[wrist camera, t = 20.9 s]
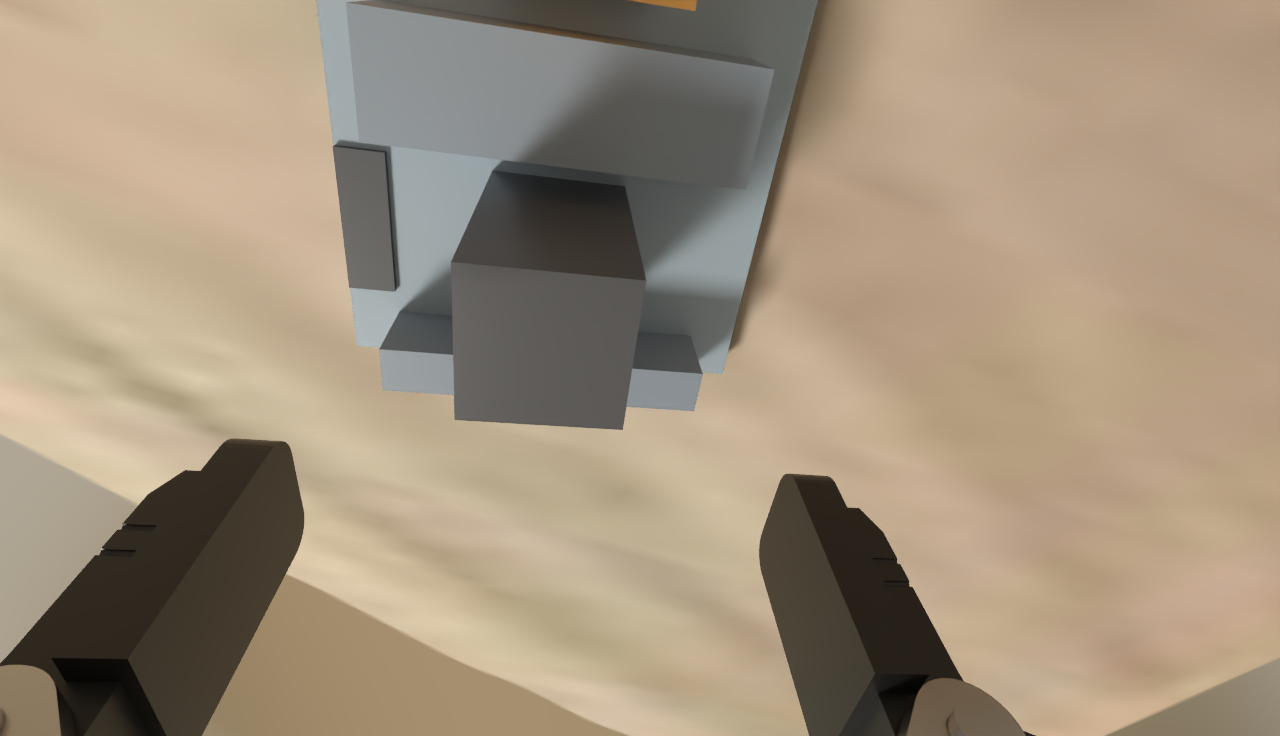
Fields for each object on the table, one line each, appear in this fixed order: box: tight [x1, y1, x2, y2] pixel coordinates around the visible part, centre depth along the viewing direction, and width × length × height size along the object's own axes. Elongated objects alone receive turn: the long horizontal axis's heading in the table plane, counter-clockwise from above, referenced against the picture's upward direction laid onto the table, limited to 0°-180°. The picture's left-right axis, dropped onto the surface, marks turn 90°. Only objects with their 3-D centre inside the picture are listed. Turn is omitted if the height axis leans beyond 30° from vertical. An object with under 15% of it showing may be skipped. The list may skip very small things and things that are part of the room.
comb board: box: [316, 0, 818, 411], centre depth 16 cm, size 13×18×4 cm
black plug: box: [451, 170, 646, 430], centre depth 16 cm, size 4×4×7 cm
